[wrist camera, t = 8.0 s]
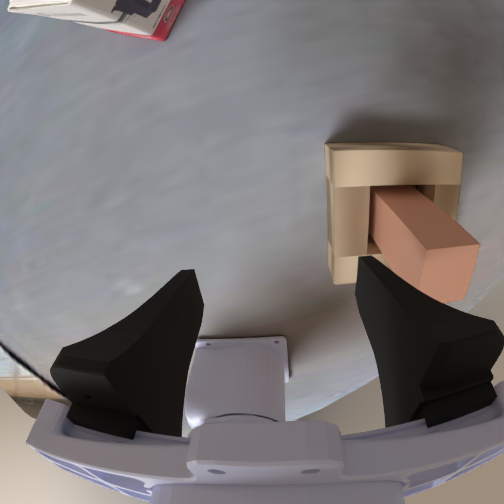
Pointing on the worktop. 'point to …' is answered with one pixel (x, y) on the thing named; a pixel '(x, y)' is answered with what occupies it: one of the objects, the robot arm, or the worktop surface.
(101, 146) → the worktop surface
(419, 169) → the socket block
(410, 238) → the peg
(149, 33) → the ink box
